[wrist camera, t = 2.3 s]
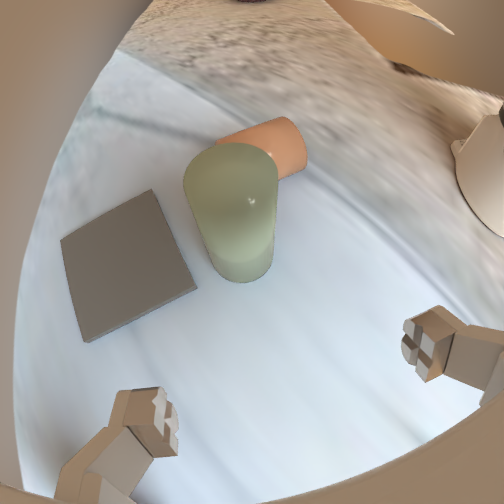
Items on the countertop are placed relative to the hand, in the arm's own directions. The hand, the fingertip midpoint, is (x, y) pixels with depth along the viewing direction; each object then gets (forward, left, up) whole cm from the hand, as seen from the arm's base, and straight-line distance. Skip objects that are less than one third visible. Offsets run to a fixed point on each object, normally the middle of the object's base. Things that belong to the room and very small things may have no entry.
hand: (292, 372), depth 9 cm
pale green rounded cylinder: (-3, -11, -15) cm, 19 cm away
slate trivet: (+8, -16, -15) cm, 23 cm away
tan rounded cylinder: (-9, -20, -14) cm, 26 cm away
